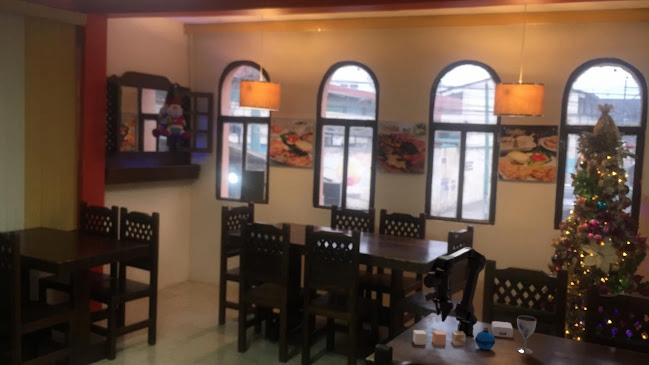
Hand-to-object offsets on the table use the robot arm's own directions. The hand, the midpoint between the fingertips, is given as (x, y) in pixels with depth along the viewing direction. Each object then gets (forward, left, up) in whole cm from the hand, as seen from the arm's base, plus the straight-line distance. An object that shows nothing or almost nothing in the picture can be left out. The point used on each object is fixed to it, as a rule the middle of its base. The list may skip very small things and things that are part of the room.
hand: (440, 318), depth 277 cm
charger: (-35, -18, -12) cm, 41 cm away
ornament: (-19, +7, -12) cm, 23 cm away
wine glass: (-37, +8, -12) cm, 40 cm away
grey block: (+9, 0, -12) cm, 15 cm away
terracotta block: (0, 0, -12) cm, 12 cm away
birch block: (-9, 0, -12) cm, 15 cm away
